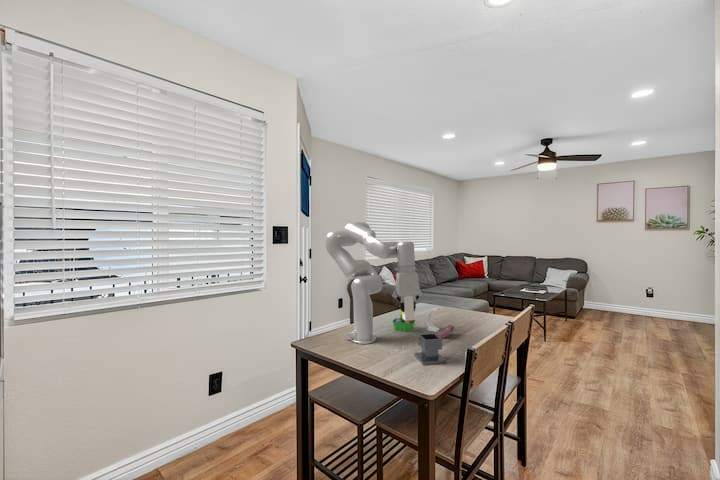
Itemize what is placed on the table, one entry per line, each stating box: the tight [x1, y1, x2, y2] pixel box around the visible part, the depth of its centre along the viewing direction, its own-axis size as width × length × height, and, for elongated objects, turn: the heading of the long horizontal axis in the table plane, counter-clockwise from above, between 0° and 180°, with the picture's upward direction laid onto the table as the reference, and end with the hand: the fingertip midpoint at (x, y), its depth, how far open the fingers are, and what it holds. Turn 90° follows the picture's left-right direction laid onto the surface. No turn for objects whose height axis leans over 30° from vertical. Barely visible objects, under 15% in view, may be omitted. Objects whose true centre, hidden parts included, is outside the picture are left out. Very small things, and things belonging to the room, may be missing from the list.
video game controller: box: [438, 324, 455, 339], centre depth 160 cm, size 10×5×7 cm, turn 149°
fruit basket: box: [391, 310, 416, 333], centre depth 172 cm, size 11×9×11 cm
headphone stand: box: [425, 307, 440, 333], centre depth 170 cm, size 5×6×12 cm
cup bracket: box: [414, 332, 447, 366], centre depth 131 cm, size 10×10×10 cm
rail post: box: [402, 296, 415, 321], centre depth 137 cm, size 4×4×12 cm
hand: (408, 310), depth 137 cm, fingers closed on rail post, 4 cm apart
